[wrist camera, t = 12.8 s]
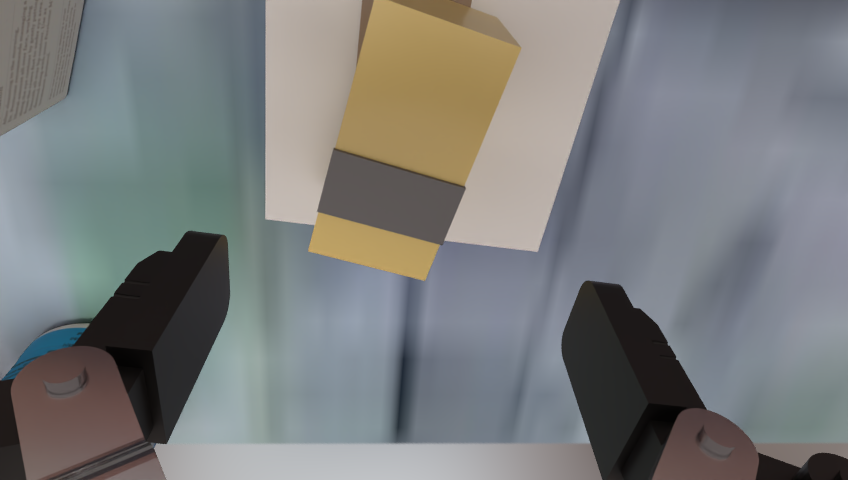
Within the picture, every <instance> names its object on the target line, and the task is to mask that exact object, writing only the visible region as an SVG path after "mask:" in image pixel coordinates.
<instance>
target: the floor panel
mask: <svg viewBox="0 0 848 480" xmlns="http://www.w3.org/2000/svg"><path fill="white" fill-rule="evenodd" d="M451 1H453V2H456V3H459V4H462V5H464V6H467V7H470V8H473V9H475V10H478V11H481V12H484V13H486V14H489V15H492V16H495V17H497V18H498V19H499V20H500V22H501V23H502V24H503V25H504V26H505V28H506V29H507V30H508V31H509V33H510V34H511V35H512V36H513V38H514V39H515V40H516V41H517V43H518V44H519V45H520V46H521V47H522V48H521V51H520V53H519V56H518V58H517V60H516V63H515V65H514V68H513V70H512V72H511V75H510V77H509V80H508V82H507V84H506V87H505V89H504V92H503V94H502V96H501V99H500V101H499V104H498V106H497V109H496V111H495V113H494V116H493V118H492V121H491V123H490V125H489V128H488V130H487V133H486V135H485V137H484V140H483V142H482V145H481V147H480V149H479V152H478V154H477V157H476V159H475V161H474V164H473V166H472V169H471V171H470V173H469V176H468V178H467V181H466V183H465V187H466V190H465V192H464V195H463V197H462V199H461V202H460V204H459V206H458V209H457V211H456V214H455V216H454V218H453V221H452V223H451V226H450V228H449V230H448V233H447V235H446V238H445V240H444V241H451V242H460V243H468V244H476V245H485V246H493V247H501V248H510V249H518V250H526V251H535V252H538V249H539V246H540V243H541V240H542V237H543V234H544V231H545V228H546V225H547V222H548V218H549V215H550V212H551V209H552V206H553V203H554V200H555V197H556V194H557V191H558V188H559V185H560V182H561V179H562V176H563V173H564V170H565V167H566V164H567V160H568V157H569V154H570V151H571V148H572V145H573V142H574V139H575V136H576V133H577V130H578V127H579V124H580V121H581V118H582V115H583V112H584V109H585V105H586V102H587V99H588V96H589V93H590V90H591V87H592V84H593V81H594V78H595V75H596V72H597V69H598V66H599V63H600V60H601V57H602V54H603V51H604V47H605V44H606V41H607V38H608V35H609V32H610V29H611V26H612V23H613V20H614V17H615V14H616V11H617V8H618V5H619V2H620V0H451ZM373 2H374V0H266V204H265V219H268V220H277V221H285V222H293V223H302V224H310V225H315V223H316V219H317V215H318V212H317V209H318V205H319V202H320V198H321V194H322V190H323V186H324V182H325V179H326V175H327V171H328V167H329V163H330V159H331V156H332V152H333V148H335V147H336V143H337V139H338V135H339V132H340V128H341V124H342V120H343V116H344V113H345V109H346V105H347V101H348V97H349V93H350V90H351V86H352V82H353V78H354V74H355V71H356V67H357V63H358V59H359V55H360V52H361V48H362V44H363V40H364V36H365V33H366V29H367V25H368V21H369V17H370V14H371V10H372V6H373Z"/></svg>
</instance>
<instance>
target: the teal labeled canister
mask: <svg viewBox="0 0 848 480" xmlns="http://www.w3.org/2000/svg"><path fill="white" fill-rule="evenodd" d="M89 324H90V323H79V324H70V325H64V326H60V327H57V328H54V329H52V330H49V331H47V332H45V333H44V334H42V335H41V336H39V337H38V338H37V339H35V340H34V341H33V342H32V343H31V344H30V346H29V347H28V348H27V349H26V350H25V351H24V353H23V354H22V355H21V356H20V358H19V359H18V361H17V362H16V364H15V365H14V366H13V367H12V368H11V370H10V371H9V372H8V373H7V374H6V376H5V377H4V378H3V379H2V380H8V379H14V378H15V377H16V376H17V375H18V373H19V372H20V371H21V370H22V369H23V368H24V367H25V366H26V365H28V364H29V363H30V362H32V361H33V360H35V359H37V358H38V357H40V356H42V355H45V354H47V353H49V352H52V351H55V350H58V349H62V348H66V347H72V346H73V345H74V343H75V342H76V341H77V340H78V338H79V337H80V336H81V335H82V333H83V332H84V331H85V329H86V328H87V327H88V326H89ZM2 380H1V381H2ZM146 443H148V442H146ZM151 444H152V446H153V448H154V447H155V445H156V443H151Z"/></svg>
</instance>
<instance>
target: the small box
mask: <svg viewBox="0 0 848 480" xmlns="http://www.w3.org/2000/svg"><path fill="white" fill-rule="evenodd" d="M83 4H84V0H0V136H1V135H3V134H5V133H7V132H8V131H10V130H12V129H13V128H15V127H17V126H19V125H20V124H22V123H24V122H25V121H27V120H29V119H31V118H32V117H34V116H36V115H38V114H39V113H41V112H42V111H44V110H46V109H48V108H49V107H51V106H53V105H55V104H56V103H58V102H60V101H61V100H63V99H64V98H65V97H66V95H67V91H68V85H69V80H70V74H71V69H72V64H73V59H74V54H75V48H76V43H77V37H78V32H79V26H80V21H81V16H82V10H83Z"/></svg>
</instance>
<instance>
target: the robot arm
mask: <svg viewBox="0 0 848 480" xmlns="http://www.w3.org/2000/svg"><path fill="white" fill-rule="evenodd" d="M229 300H230V281H229V260H228V242H227V238H226V236H225V235H220V234H212V233H204V232H196V231H188V232H186V233H185V235H184V236H183V237H182V239H181V240H180V242H179V243H178V244H177V246H176V247H175V249H174V250H173V251H172V252H167V251H157V252H156V253H154V254H152V255H151V256H149V257H147V258H146V259H144V260H142V261H141V262H139V263H138V264H137V265H136V266H135V267H134V269H133V270H132V271H131V272H130V274H129V275H128V276H127V277H126V279H125V282H124V283H122V284H121V285H120V286H119V288H118V289H117V290H116V291H115V293H114V297H111V298H110V299H109V300H108V302H107V303H106V304H105V305H104V307H103V308H102V309H101V310H100V312H99V313H98V314H97V315H96V317H95V318H94V319H93V321H92V322H91V323H90V324H89V326H88V327H87V328H86V329H85V331H84V332H83V333H82V335H81V336H80V337H79V338H78V340H77V341H76V342H75V343H74V345H73V346H72V347H66V348H62V349H58V350H55V351H52V352H49V353H47V354H45V355H42V356H40V357H38V358H37V359H35V360H33V361H32V362H30V363H29V364H28V365H26V366H25V367H24V368H23V369H22V370H21V371H20V372H19V373H18V375H17V376H16V377H15V378H14V379H8V380H2V381H0V480H166V478H165V475H164V473H163V471H162V468H161V465H160V462H159V460H158V457H157V455H156V452H155V450H154V448H153V446H152V444H151V443H160V444H167V442H168V440H169V438H170V436H171V434H172V432H173V429H174V427H175V425H176V423H177V421H178V419H179V417H180V414H181V412H182V410H183V408H184V406H185V404H186V402H187V400H188V397H189V395H190V393H191V391H192V389H193V387H194V385H195V382H196V380H197V378H198V376H199V374H200V372H201V370H202V367H203V365H204V363H205V361H206V359H207V357H208V355H209V352H210V350H211V348H212V346H213V344H214V342H215V340H216V338H217V335H218V333H219V331H220V329H221V327H222V325H223V323H224V320H225V318H226V315H227V311H228V306H229ZM667 343H668V342H667V340H666V338H665V337H664V335H663V333H662V332H661V330H660V328H659V326H658V325H657V324H656V323H655V322H654V321H653V320H652V319H651V318H650V317H649V316H647V315H646V314H645V313H644V312H643V311H642V310H641V309H638V308H633V306H632V304H631V302H630V300H629V298H628V297H627V295H626V293H625V291H624V289H623V288H622V286H621V285H619V284H611V283H603V282H595V281H585V282H584V283H583V284H582V286H581V288H580V290H579V293H578V295H577V298H576V301H575V303H574V306H573V308H572V311H571V313H570V316H569V319H568V321H567V324H566V326H565V329H564V332H563V336H562V356H563V360H564V363H565V366H566V369H567V372H568V375H569V378H570V381H571V385H572V388H573V391H574V394H575V397H576V400H577V403H578V406H579V409H580V412H581V415H582V418H583V421H584V424H585V427H586V431H587V434H588V437H589V440H590V443H591V446H592V449H593V452H594V455H595V458H596V461H597V464H598V467H599V470H600V473H601V476H602V479H603V480H848V459H846V458H844V457H841V456H838V455H835V454H830V453H818V454H815V455H813V456H811V457H810V458H809V459H808V461H807V462H806V463H805V464H804V465H803V467H802V468H799V467H796V466H793V465H791V464H788V463H785V462H783V461H780V460H777V459H774V458H771V457H769V456H766V455H763V454H760V453H758V452H757V450H756V447H755V446H754V444H753V442H752V441H751V440H750V438H749V437H748V436H747V435H746V434H745V433H744V432H743V430H741V429H740V428H739V427H738V426H737V425H736V424H734V423H733V422H731V421H730V420H728V419H727V418H725V417H723V416H721V415H719V414H717V413H715V412H712V411H709V410H707V409H706V407H705V406H704V404H703V402H702V400H701V399H700V397H699V395H698V394H697V392H696V390H695V388H694V387H693V385H692V383H691V382H690V380H689V378H688V376H687V375H686V373H685V371H684V369H683V368H682V366H681V364H680V363H679V361H678V360H676V356H675V354H674V352H673V351H672V349H671V347H670V346H668V345H667ZM146 442H148V443H146Z"/></svg>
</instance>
